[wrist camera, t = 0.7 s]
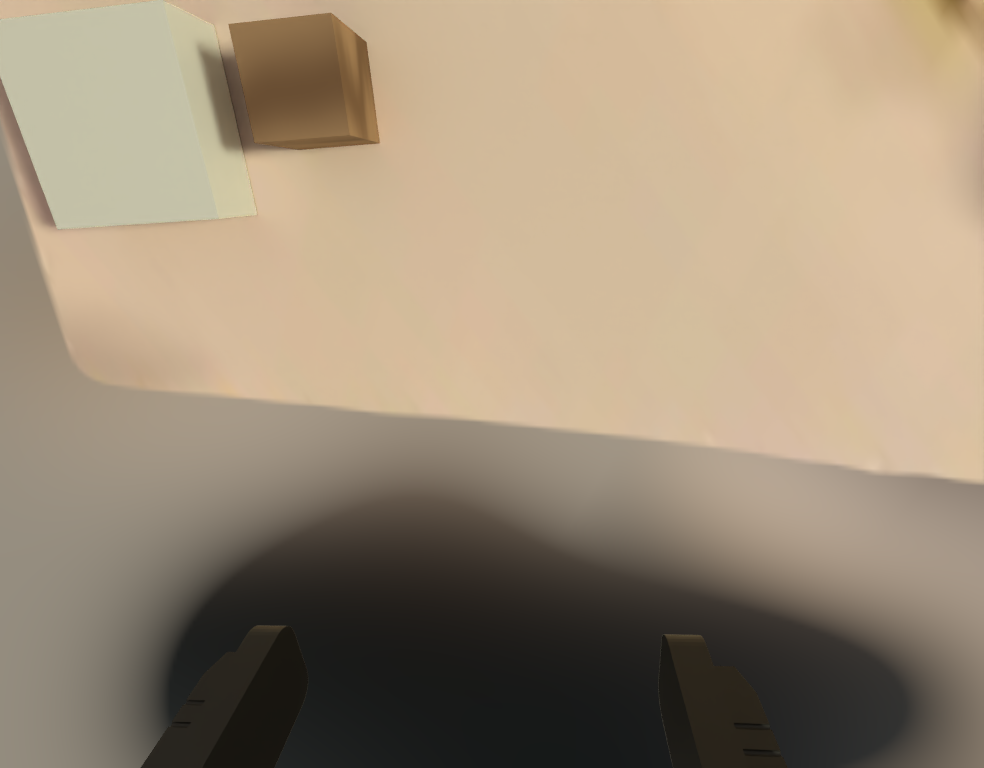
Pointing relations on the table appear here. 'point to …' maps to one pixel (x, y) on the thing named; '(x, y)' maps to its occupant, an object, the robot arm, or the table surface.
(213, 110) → the base slab
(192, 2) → the table surface
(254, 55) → the walnut cube
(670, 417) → the table surface
